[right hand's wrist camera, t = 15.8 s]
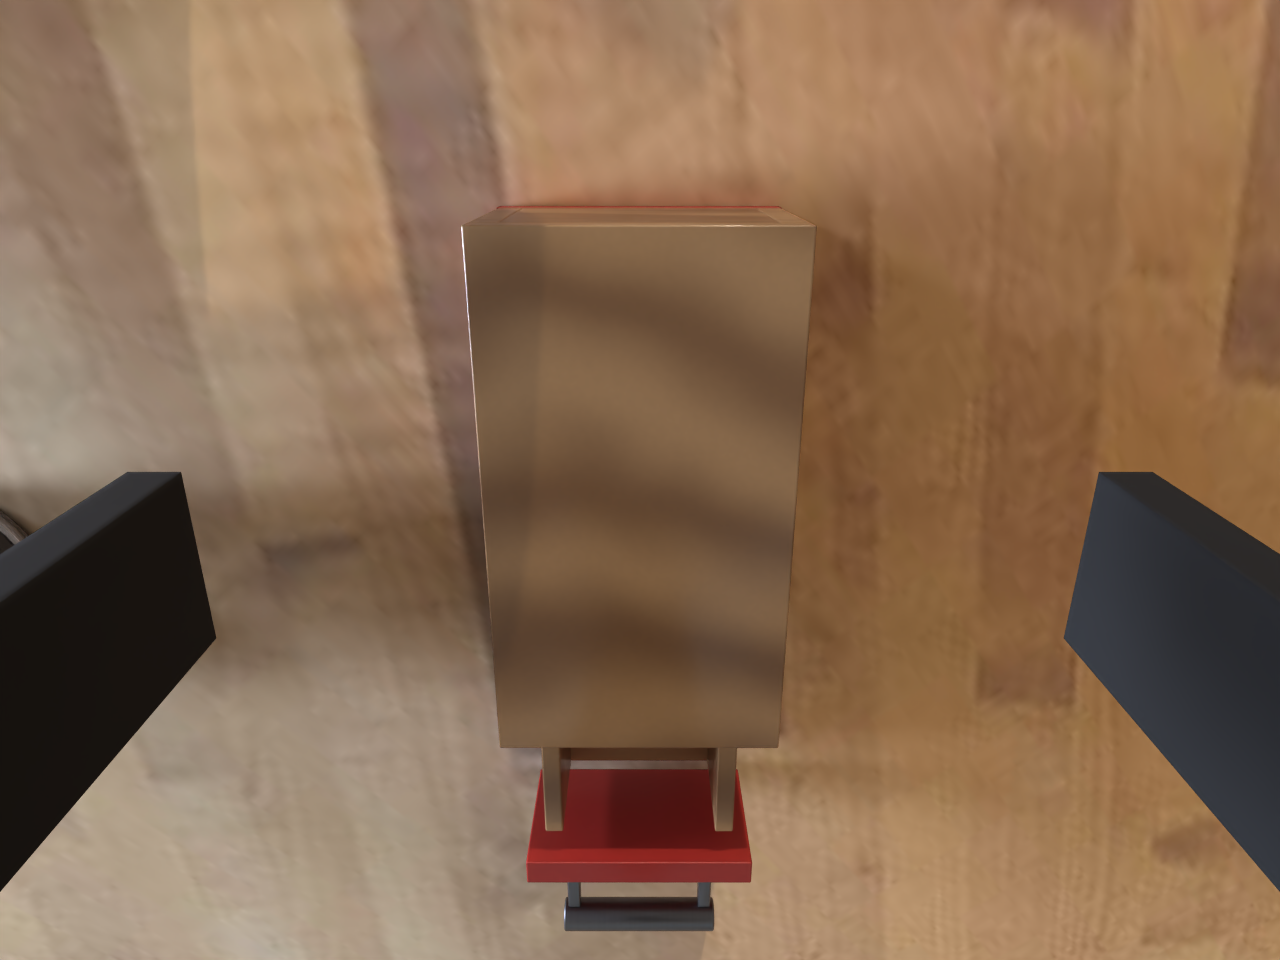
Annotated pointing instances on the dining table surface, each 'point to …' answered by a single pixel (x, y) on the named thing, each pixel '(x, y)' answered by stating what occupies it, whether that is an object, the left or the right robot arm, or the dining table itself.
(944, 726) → the dining table surface
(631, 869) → the drawer
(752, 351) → the cabinet
